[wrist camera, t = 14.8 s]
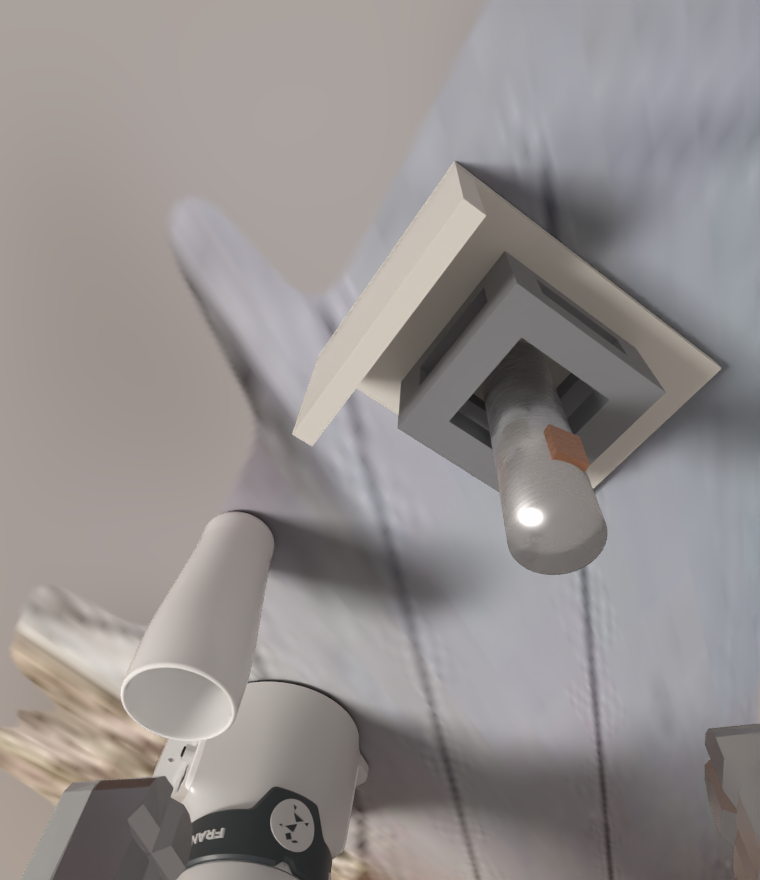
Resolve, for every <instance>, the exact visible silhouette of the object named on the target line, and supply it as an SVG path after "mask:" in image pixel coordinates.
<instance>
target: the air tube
mask: <svg viewBox="0 0 760 880" xmlns="http://www.w3.org/2000/svg"><path fill="white" fill-rule="evenodd" d="M482 388H483V394H484V400H485V407H486V413H487V419H488V425H489V431H490V437H491V444H492V450H493V456H494V462H495V468H496V475H497V481H498V487H499V493H500V499H501V505H502V512H503V518H504V524H505V530H506V536H507V543H508V547H509V550H510V553H511V555H512V556H513V557H514V559H515V560H516V561H517V562H518V563H519V564H520V565H522V566H523V567H525V568H526V569H528V570H531V571H533V572H536V573H540V574H547V575H560V574H566V573H571V572H574V571H577V570H579V569H581V568H583V567H585V566H587V565H588V564H590V563H591V562H592V561H593V560H595V559H596V558H597V557H598V555H599V554H600V553H601V551H602V550H603V548H604V546H605V543H606V540H607V526H606V523H605V520H604V517H603V515H602V512H601V509H600V507H599V504H598V501H597V499H596V496H595V493H594V490H593V488H592V485H591V482H590V480H589V477H588V474H587V472H586V470H587V468H588V467H589V466H590V463H589V460H588V458H587V455H586V452H585V450H584V447H583V445H582V442H581V439H580V437H579V436H577V435H575V434H572V431H571V428H570V426H569V423H568V420H567V417H566V415H565V412H564V409H563V407H562V404H561V401H560V399H559V396H558V393H557V390H556V388H555V385H554V382H553V380H552V377H551V374H550V372H549V369H548V366H547V363H546V361H545V358H544V356H543V355H542V353H541V352H540V351H539V350H538V349H537V348H536V347H534V346H533V345H531V344H529V343H526V342H521V341H518V342H517V343H516V344H515V346H514V347H513V348H512V349H511V350H510V351H509V353H508V354H507V355H506V356H505V357H504V358H503V359H502V361H501V362H500V363H499V364H498V365H497V366H496V368H495V369H494V370H493V371H492V372H491V373H490V375H489V376H488V377H487V378H486V379H485V380H484V381H483V383H482Z"/></svg>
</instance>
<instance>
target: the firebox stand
mask: <svg viewBox="0 0 760 880" xmlns="http://www.w3.org/2000/svg"><path fill="white" fill-rule="evenodd" d="M518 341H521V342H526V343H529V344H531V345H533V346H534V347H536V348H537V349H538V350H539V351H540V352H541V353H542V355H543V356H544V358H545V361H546V363H547V366H548V369H549V372H550V374H551V377H552V380H553V382H554V385H555V388H556V390H557V393H558V396H559V399H560V401H561V404H562V407H563V409H564V412H565V415H566V417H567V420H568V423H569V426H570V428H571V431H572V434H575V435H577V436H579V437H580V439H581V442H582V445H583V447H584V450H585V452H586V455H587V458H588V460H589V463H590V466H589V467H588V468H587V470H586V472H587V474H588V477H589V480H590V482H591V485H592V488H593V489H594V488H595V487H596V486H597V485H598V484H599V483H600V482H601V481H602V480H603V479H604V478H606V477H607V476H608V475H609V474H610V473H611V472H612V471H613V470H614V469H615V468H616V467H617V466H618V465H619V464H620V463H622V462H623V461H624V460H625V459H626V458H627V457H628V456H629V455H630V454H631V453H632V452H633V451H634V450H635V449H637V448H638V447H639V446H640V445H641V444H642V443H643V442H644V441H645V440H646V439H647V438H648V437H649V436H650V435H651V434H653V433H654V432H655V431H656V430H657V429H658V428H659V427H660V426H661V425H662V424H663V423H664V422H665V421H666V420H667V419H669V418H670V417H671V416H672V415H673V414H674V413H675V412H676V411H677V410H678V409H679V408H680V407H681V406H682V405H684V404H685V403H686V402H687V401H688V400H689V399H690V398H691V397H692V396H693V395H694V394H695V393H696V392H697V391H698V390H700V389H701V388H702V387H703V386H704V385H705V384H706V383H707V382H708V381H709V380H710V379H711V378H712V377H713V376H715V375H716V374H717V373H718V372H719V371H720V370H721V367H720V366H719V365H718V364H717V363H716V362H715V361H714V360H713V359H712V358H710V357H709V356H708V355H706V354H705V353H704V352H703V351H701V350H700V349H699V348H697V347H696V346H695V345H693V344H692V343H691V342H690V341H688V340H687V339H686V338H684V337H683V336H682V335H680V334H679V333H678V332H677V331H675V330H674V329H673V328H671V327H670V326H669V325H667V324H666V323H665V322H664V321H662V320H661V319H660V318H658V317H657V316H656V315H654V314H653V313H652V312H651V311H649V310H648V309H647V308H645V307H644V306H643V305H641V304H640V303H639V302H638V301H636V300H635V299H634V298H632V297H631V296H630V295H628V294H627V293H626V292H625V291H623V290H622V289H621V288H619V287H618V286H617V285H615V284H614V283H613V282H612V281H610V280H609V279H608V278H606V277H605V276H604V275H602V274H601V273H600V272H599V271H597V270H596V269H595V268H593V267H592V266H591V265H589V264H588V263H587V262H586V261H584V260H583V259H582V258H580V257H579V256H578V255H576V254H575V253H574V252H573V251H571V250H570V249H569V248H567V247H566V246H565V245H563V244H562V243H561V242H560V241H558V240H557V239H556V238H554V237H553V236H552V235H550V234H549V233H548V232H547V231H545V230H544V229H543V228H541V227H540V226H539V225H537V224H536V223H535V222H534V221H532V220H531V219H530V218H528V217H527V216H526V215H524V214H523V213H522V212H521V211H519V210H518V209H517V208H515V207H514V206H513V205H511V204H510V203H509V202H508V201H506V200H505V199H504V198H502V197H501V196H500V195H498V194H497V193H496V192H495V191H493V190H492V189H491V188H489V187H488V186H487V185H485V184H484V183H483V182H482V181H480V180H479V179H478V178H476V177H475V176H474V175H472V174H471V173H470V172H469V171H467V170H466V169H465V168H463V167H462V166H461V165H459V164H458V163H457V162H456V161H454V162H453V164H452V165H451V167H450V168H449V169H448V171H447V172H446V174H445V175H444V177H443V178H442V179H441V181H440V182H439V184H438V185H437V187H436V188H435V189H434V191H433V192H432V194H431V195H430V197H429V198H428V200H427V201H426V202H425V204H424V205H423V207H422V208H421V210H420V211H419V212H418V214H417V215H416V217H415V218H414V220H413V221H412V222H411V224H410V225H409V227H408V228H407V230H406V231H405V232H404V234H403V235H402V237H401V238H400V240H399V241H398V242H397V244H396V245H395V247H394V248H393V250H392V251H391V252H390V254H389V255H388V257H387V258H386V260H385V261H384V262H383V264H382V265H381V267H380V268H379V270H378V271H377V272H376V274H375V275H374V277H373V278H372V280H371V281H370V282H369V284H368V285H367V287H366V288H365V290H364V291H363V292H362V294H361V295H360V297H359V298H358V300H357V301H356V302H355V304H354V305H353V307H352V308H351V310H350V311H349V312H348V314H347V315H346V317H345V318H344V320H343V321H342V322H341V324H340V325H339V327H338V328H337V330H336V331H335V332H334V334H333V335H332V337H331V338H330V340H329V341H328V342H327V344H326V345H325V347H324V348H323V350H322V351H321V352H320V354H319V356H318V359H317V362H316V365H315V368H314V371H313V374H312V377H311V380H310V383H309V385H308V388H307V391H306V394H305V397H304V400H303V403H302V406H301V409H300V412H299V415H298V418H297V421H296V424H295V427H294V430H293V433H292V435H294V436H296V437H297V438H299V439H301V440H302V441H304V442H306V443H307V444H309V445H311V446H313V445H314V443H315V442H316V441H317V439H318V438H319V437H320V435H321V434H322V433H323V431H324V430H325V429H326V427H327V426H328V425H329V423H330V422H331V421H332V419H333V418H334V417H335V416H336V414H337V413H338V412H339V410H340V409H341V408H342V406H343V405H344V404H345V402H346V401H347V400H348V398H349V397H350V396H351V394H352V393H353V392H354V390H355V389H356V388H357V389H358V390H360V391H361V392H363V393H364V394H366V395H368V396H369V397H371V398H372V399H374V400H375V401H377V402H379V403H380V404H382V405H383V406H385V407H386V408H388V409H390V410H391V411H393V412H394V413H396V414H397V415H399V416H398V429H400V430H401V431H403V432H404V433H406V434H408V435H409V436H411V437H412V438H414V439H416V440H417V441H419V442H420V443H422V444H423V445H425V446H427V447H428V448H430V449H431V450H433V451H435V452H436V453H438V454H439V455H441V456H443V457H444V458H446V459H447V460H449V461H450V462H452V463H454V464H455V465H457V466H458V467H460V468H462V469H463V470H465V471H466V472H468V473H470V474H471V475H473V476H474V477H476V478H477V479H479V480H481V481H482V482H484V483H485V484H487V485H489V486H490V487H492V488H493V489H495V490H496V491H498V492H499V487H498V481H497V475H496V468H495V462H494V456H493V450H492V444H491V437H490V431H489V425H488V419H487V413H486V407H485V400H484V394H483V388H482V383H483V381H484V380H485V379H486V378H487V377H488V376H489V375H490V373H491V372H492V371H493V370H494V369H495V368H496V366H497V365H498V364H499V363H500V362H501V361H502V359H503V358H504V357H505V356H506V355H507V354H508V353H509V351H510V350H511V349H512V348H513V347H514V346H515V344H516V343H517V342H518Z"/></svg>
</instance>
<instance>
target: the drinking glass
mask: <svg viewBox="0 0 760 880" xmlns="http://www.w3.org/2000/svg"><path fill="white" fill-rule="evenodd" d="M273 552H274V538H273V535H272V533H271V531H270V529H269V528H268V526H267V525H266V524H265V523H264V522H263V521H261V520H260V519H259V518H257V517H255V516H253V515H251V514H248V513H244V512H226V513H223V514H220V515H218V516H216V517H214V518H213V519H212V520H211V521H210V522H209V523H208V524H207V526H206V527H205V529H204V531H203V533H202V536H201V538H200V540H199V542H198V544H197V546H196V547H195V549H194V551H193V552H192V554H191V556H190V557H189V559H188V561H187V562H186V564H185V566H184V567H183V569H182V571H181V572H180V574H179V576H178V577H177V579H176V581H175V582H174V584H173V586H172V587H171V589H170V591H169V592H168V594H167V596H166V597H165V599H164V600H163V602H162V604H161V605H160V607H159V609H158V610H157V612H156V614H155V616H154V617H153V619H152V621H151V622H150V624H149V626H148V628H147V629H146V631H145V633H144V635H143V637H142V639H141V641H140V643H139V645H138V648H137V650H136V652H135V654H134V657H133V659H132V661H131V664H130V666H129V668H128V671H127V673H126V676H125V679H124V681H123V683H122V686H121V692H120V694H121V701H122V704H123V706H124V708H125V710H126V712H127V713H128V714H129V716H130V717H131V718H132V719H133V720H134V721H135V722H136V723H138V724H139V725H140V726H142V727H143V728H145V729H146V730H148V731H150V732H152V733H154V734H157V735H159V736H162V737H165V738H168V739H173V740H178V741H190V742H192V741H203V740H208V739H212V738H215V737H217V736H219V735H221V734H223V733H224V732H226V731H227V730H228V729H229V728H230V727H231V726H232V725H233V723H234V721H235V719H236V717H237V713H238V710H239V708H240V705H241V702H242V699H243V696H244V693H245V689H246V686H247V683H248V679H249V675H250V671H251V667H252V663H253V659H254V654H255V648H256V643H257V637H258V631H259V625H260V618H261V612H262V606H263V601H264V595H265V589H266V583H267V578H268V572H269V567H270V563H271V559H272V556H273Z"/></svg>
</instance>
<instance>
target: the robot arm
mask: <svg viewBox="0 0 760 880" xmlns="http://www.w3.org/2000/svg"><path fill="white" fill-rule="evenodd" d="M705 746H706V748H707V751H708V754H709V756H710V760H709V761H708V762H707V763H706V764H705V784H706V790H707V795H708V801H709V804H710V807H711V811H712V814H713V817H714V820H715V823H716V826H717V829H718V831H719V834H720V836H721V837H722V838H723V839H724V840H725V841H726V842H728V843H729V844H730V845H731V846H732V847H733V848H734V858H733V872H734V875H735V878H736V880H760V724H751V725H741V726H731V727H721V728H711V729H708V730H707V732H706V736H705ZM368 772H369V767H368V765H367V763H366V761H365V759H364V758H363V756H362V755H361V754H360V751H359V734H358V730H357V727H356V725H355V723H354V721H353V719H352V718H351V717H350V715H349V714H348V713H347V712H346V711H345V710H344V709H343V708H342V707H341V706H340V705H339V704H337V703H336V702H335V701H333V700H332V699H330V698H328V697H327V696H325V695H323V694H321V693H319V692H316V691H314V690H311V689H309V688H306V687H302V686H299V685H294V684H289V683H283V682H253V683H247V686H246V689H245V693H244V696H243V699H242V702H241V705H240V708H239V710H238V713H237V717H236V719H235V721H234V723H233V725H232V726H231V727H230V728H229V729H228V730H227V731H226V732H224V733H223V734H221V735H219V736H217V737H215V738H212V739H208V740H203V741H192V742H190V741H178V740H173V739H167V742H166V744H165V746H164V749H163V751H162V753H161V756H160V758H159V760H158V763H157V765H156V767H155V770H154V773H153V777H142V778H128V779H115V780H96V781H85V782H74V783H72V784H71V785H70V786H69V787H68V788H67V789H66V790H65V791H64V792H63V794H62V796H61V798H60V800H59V802H58V804H57V806H56V808H55V810H54V812H53V814H52V817H51V819H50V820H49V822H48V825H47V827H46V829H45V831H44V833H43V835H42V837H41V839H40V841H39V843H38V845H37V847H36V850H35V852H34V853H33V856H32V858H31V860H30V862H29V864H28V866H27V868H26V870H25V872H24V874H23V877H22V878H21V880H331V866H332V859H333V858H335V857H336V856H337V855H338V854H339V853H342V851H343V849H344V847H345V844H346V839H347V833H348V828H349V822H350V817H351V811H352V805H353V799H354V793H355V788H356V787H357V786H359V785H361V784H363V783H364V782H366V780H367V777H368Z"/></svg>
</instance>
